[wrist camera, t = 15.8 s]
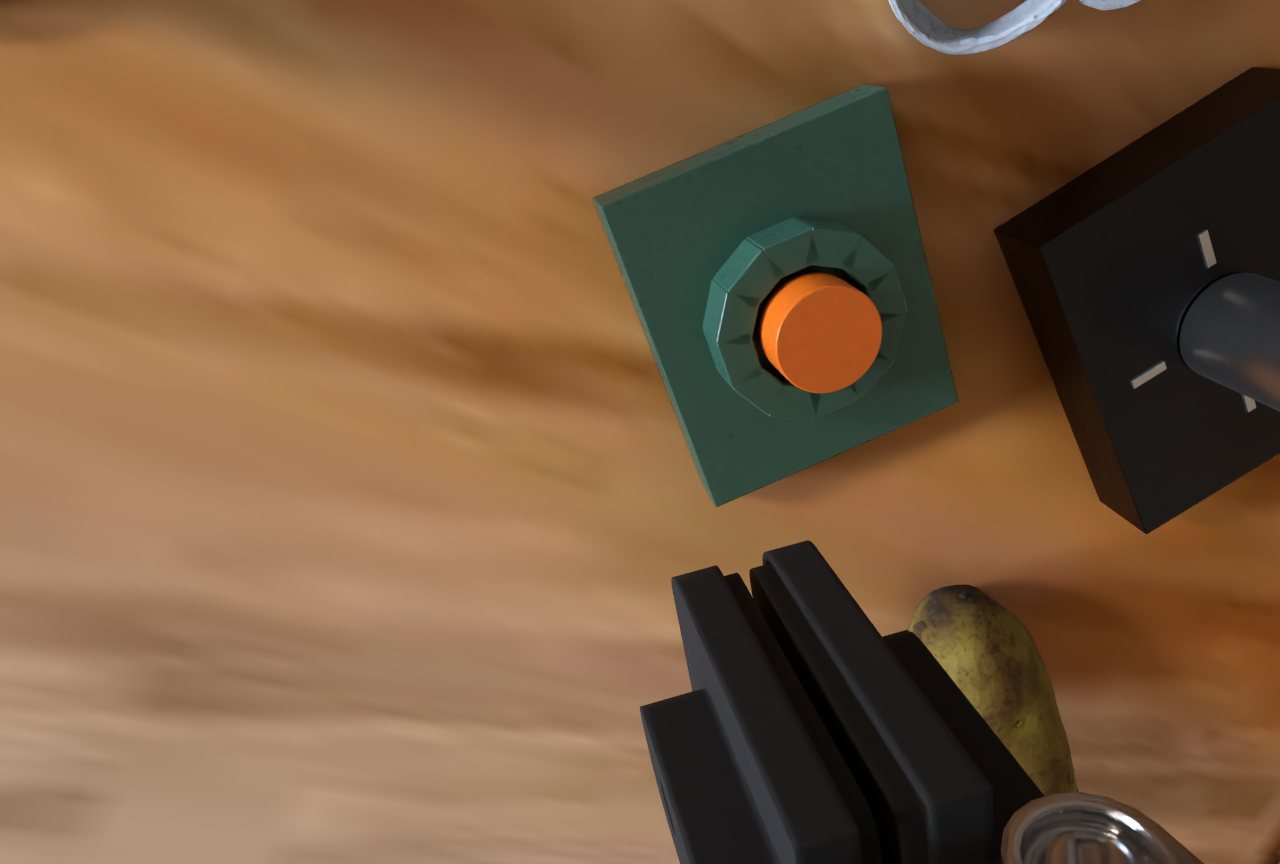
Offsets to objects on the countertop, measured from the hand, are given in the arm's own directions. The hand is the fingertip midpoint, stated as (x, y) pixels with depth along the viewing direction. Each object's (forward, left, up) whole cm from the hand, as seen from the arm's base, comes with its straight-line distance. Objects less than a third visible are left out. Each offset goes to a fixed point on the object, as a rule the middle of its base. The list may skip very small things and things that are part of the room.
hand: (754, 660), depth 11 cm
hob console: (+8, +24, -23) cm, 34 cm away
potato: (+24, +14, -23) cm, 36 cm away
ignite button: (+4, +8, -20) cm, 22 cm away
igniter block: (+4, +8, -23) cm, 25 cm away
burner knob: (+8, +24, -20) cm, 32 cm away
